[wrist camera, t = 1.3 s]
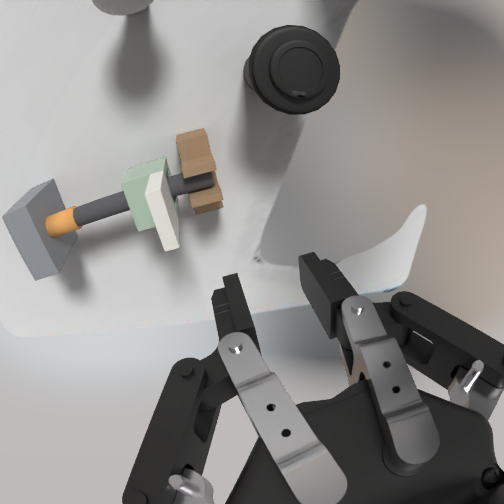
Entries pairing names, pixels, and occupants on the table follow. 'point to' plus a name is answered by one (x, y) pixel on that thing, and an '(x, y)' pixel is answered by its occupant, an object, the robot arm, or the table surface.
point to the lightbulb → (122, 6)
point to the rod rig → (101, 208)
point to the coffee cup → (293, 69)
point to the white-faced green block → (153, 200)
